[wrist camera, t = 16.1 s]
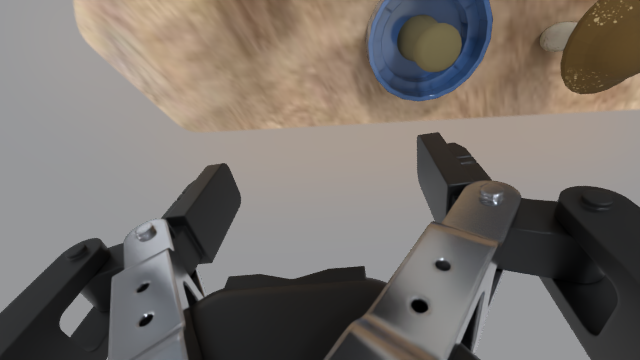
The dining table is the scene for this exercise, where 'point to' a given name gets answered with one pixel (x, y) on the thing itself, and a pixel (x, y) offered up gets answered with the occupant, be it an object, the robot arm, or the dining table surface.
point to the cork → (429, 43)
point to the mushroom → (598, 46)
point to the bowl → (406, 76)
